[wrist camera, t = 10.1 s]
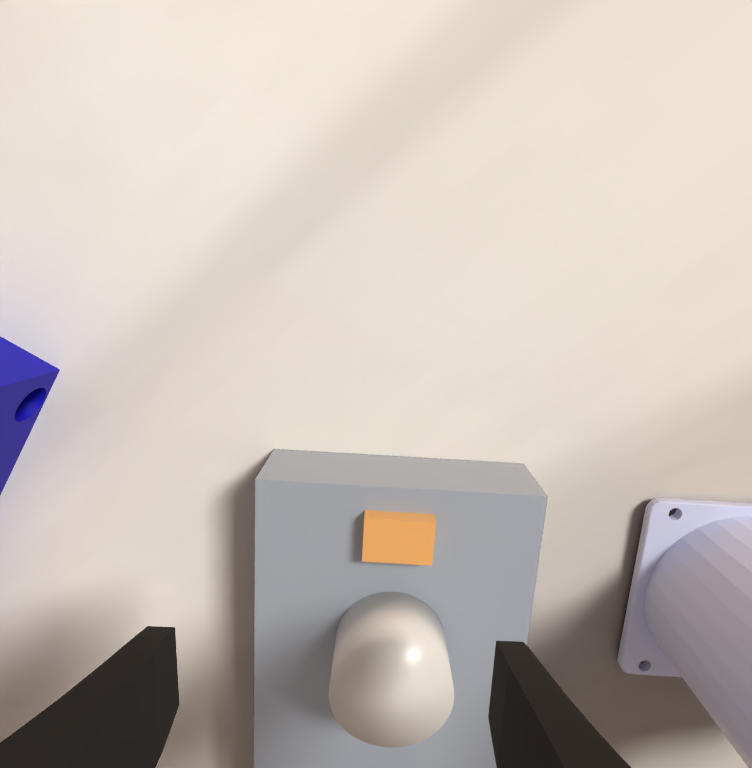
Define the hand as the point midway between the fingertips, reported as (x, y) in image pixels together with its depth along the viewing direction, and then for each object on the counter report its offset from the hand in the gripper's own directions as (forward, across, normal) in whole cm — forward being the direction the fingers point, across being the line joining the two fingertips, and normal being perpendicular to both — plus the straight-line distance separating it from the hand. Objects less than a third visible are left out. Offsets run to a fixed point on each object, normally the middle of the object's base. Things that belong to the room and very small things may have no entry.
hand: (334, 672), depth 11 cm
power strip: (+9, -2, +9) cm, 13 cm away
